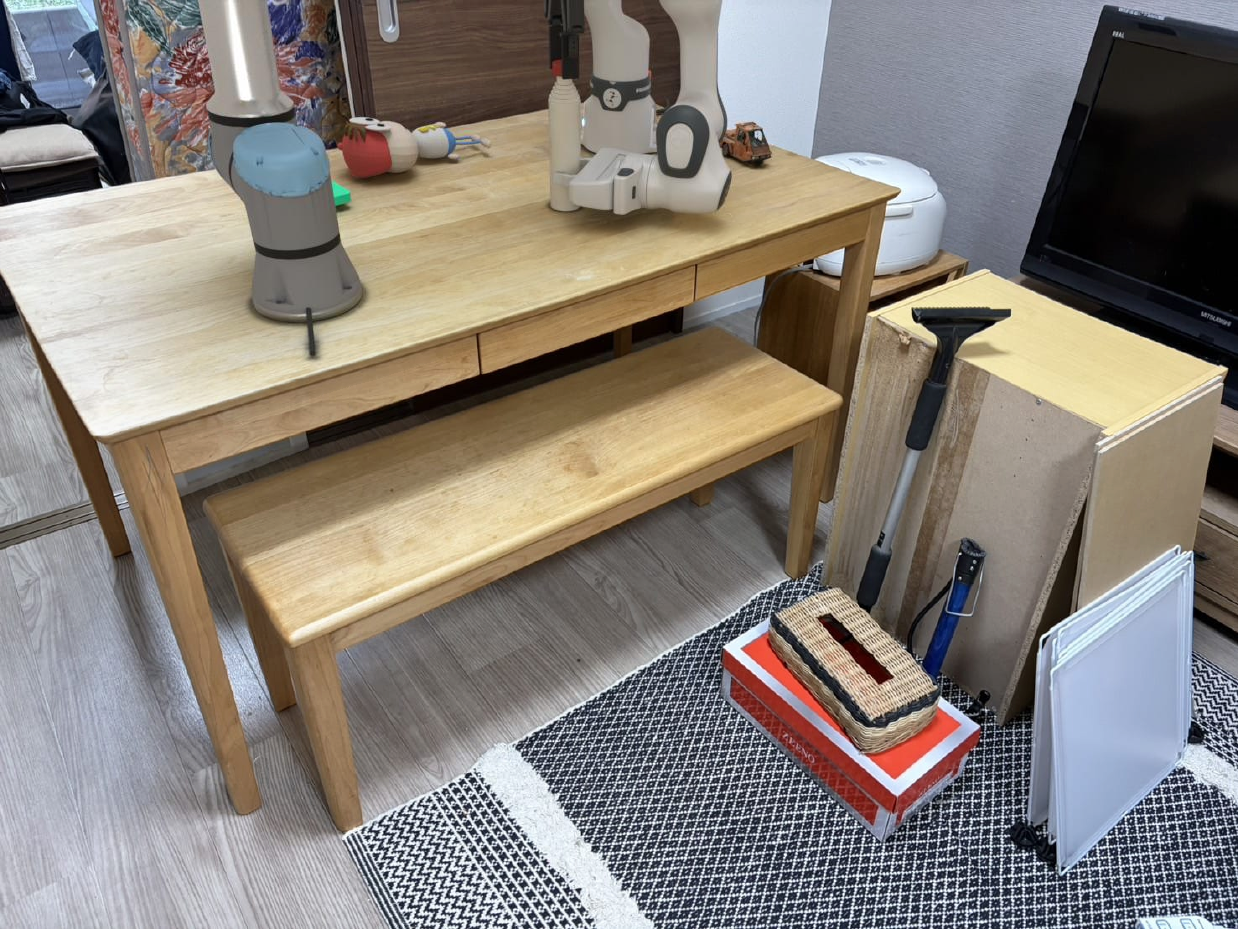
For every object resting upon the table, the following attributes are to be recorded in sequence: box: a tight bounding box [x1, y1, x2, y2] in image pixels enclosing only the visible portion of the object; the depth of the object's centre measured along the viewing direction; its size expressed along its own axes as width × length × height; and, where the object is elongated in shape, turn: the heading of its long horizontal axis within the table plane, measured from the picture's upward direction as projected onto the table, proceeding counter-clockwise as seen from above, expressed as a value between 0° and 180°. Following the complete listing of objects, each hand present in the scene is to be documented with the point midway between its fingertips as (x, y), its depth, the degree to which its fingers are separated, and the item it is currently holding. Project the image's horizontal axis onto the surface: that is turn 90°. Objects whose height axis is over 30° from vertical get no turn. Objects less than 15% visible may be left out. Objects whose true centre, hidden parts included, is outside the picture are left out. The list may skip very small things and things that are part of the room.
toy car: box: [719, 121, 773, 167], centre depth 186 cm, size 6×12×7 cm, turn 39°
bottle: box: [547, 76, 582, 212], centre depth 159 cm, size 5×5×24 cm
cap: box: [551, 60, 562, 77], centre depth 152 cm, size 4×4×2 cm
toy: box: [336, 116, 492, 179], centre depth 179 cm, size 18×10×30 cm
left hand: (564, 72), depth 153 cm, fingers open, 6 cm apart
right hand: (560, 170), depth 162 cm, fingers closed on bottle, 5 cm apart
